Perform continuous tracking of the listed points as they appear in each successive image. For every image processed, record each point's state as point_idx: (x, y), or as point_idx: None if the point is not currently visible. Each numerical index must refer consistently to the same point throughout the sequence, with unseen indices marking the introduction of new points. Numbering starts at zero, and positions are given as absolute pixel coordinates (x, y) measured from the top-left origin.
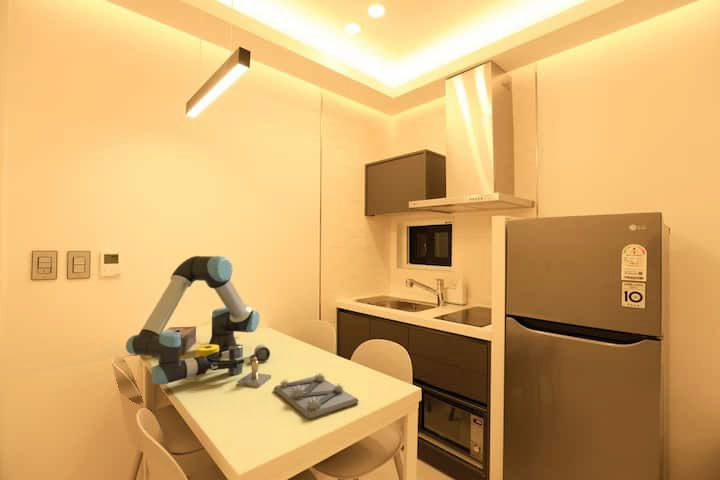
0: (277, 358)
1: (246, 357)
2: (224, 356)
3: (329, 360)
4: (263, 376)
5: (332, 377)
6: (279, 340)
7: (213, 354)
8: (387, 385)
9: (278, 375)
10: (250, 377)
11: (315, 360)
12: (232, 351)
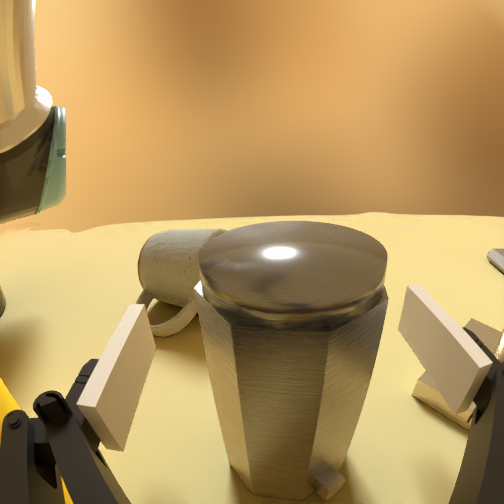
0: None
1: (433, 304)
2: (123, 420)
3: (353, 222)
4: (488, 340)
5: (476, 245)
6: (93, 235)
7: (31, 489)
8: None
9: None
10: None
11: None
12: (368, 327)
